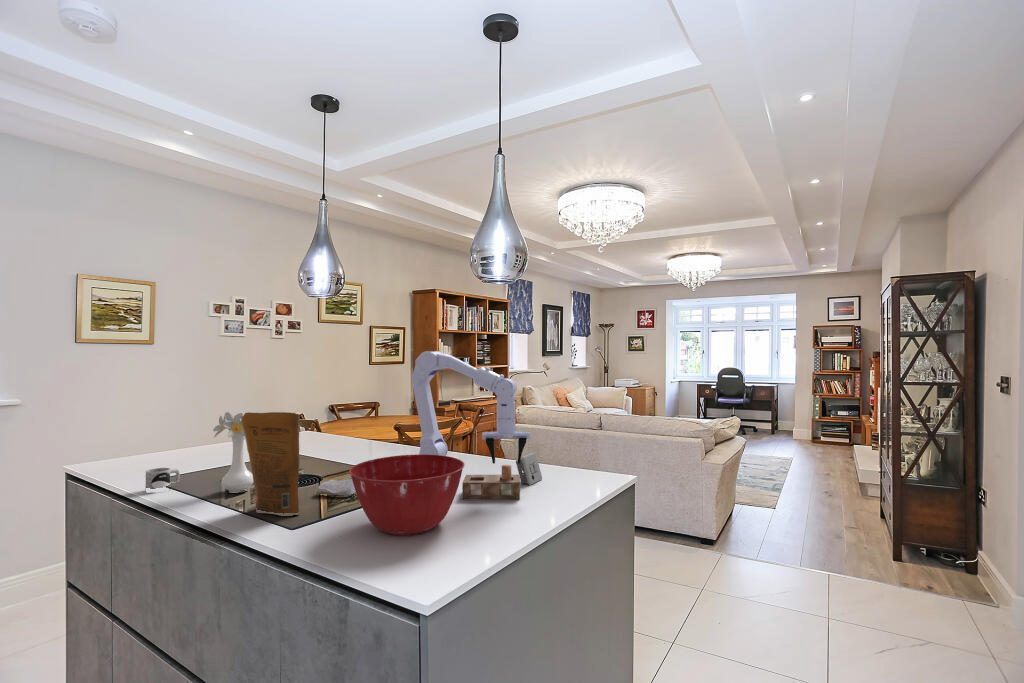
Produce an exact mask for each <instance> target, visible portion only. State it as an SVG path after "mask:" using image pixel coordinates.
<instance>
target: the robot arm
mask: <svg viewBox="0 0 1024 683" xmlns="http://www.w3.org/2000/svg"><path fill="white" fill-rule="evenodd" d="M414 365H415V366H414V370H413V372H412V376H411V384H412V389H413V390H412V391H413V394H414V401H415V404H416V410H417V414H418V420H419V425H420V430H421V437H420V440H419V446H420V447H419V452H418V455H419V454H427V455H442V456H448V451H449V447H448V444H447V443H446V442H445V440H444V436H443V434H442V433H441V432H440V430H439V426H438V420H437V414H436V410H435V406H434V400H433V395H432V391H431V390H432V388H431V384H430V382H431V381H432V379H433V378H434V376H436V374H437V373H439V372H440V371H442V370H443V369H446V370H447V369H450V370H453V371H456V373H459V374H462V375H464V376H466V377H469V378H470V379H472V380H473V383H474V384H475V385H476V386H478V387H481V388H482V389H484V390H486V391H488V392H491V393H494V394H495V395H496V431H484V432H482V434H481V435H482V438H481V440H485V444H486V446H487V448H488V450H489V454H490V455H491V456H490V457H491V462H492V464H495V463H496V452H495V449H496V448H495V447H496V445H495V444H496V443H495V441H496V440H510V439H511V440H518V441H517V442H518V443H517V447H518V448H517V449H518V451H517V453H518V454H517V455H518V456H517V460H518V463H520V460H521V459H522V455H523V454H522V453H523V451H524V448H525V446H526V445H527V440H531V432H530V431H516V395H515V394H516V392H517V389H518V387H517V383H516V382H515V381H514V380H513V379H512V378H510V377H505V374H502V373H501V374H498V373H496V372H494V371H491V369H492V368H491V367H488V366H486V367H484V366H482V367H479V368H476V367H474V366H472V365H470V364H468V363H466V362H465V361H463V360H461V359H459V358H457V357H455V356H453V355H451V354H448V353H444V352H442V351H440V350H435V351H430V350H425V351H423V352H421V353H420V354H419V355H418V357H417V358H416V359H415V364H414Z"/></svg>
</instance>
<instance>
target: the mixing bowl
mask: <svg viewBox="0 0 1024 683" xmlns="http://www.w3.org/2000/svg"><path fill="white" fill-rule="evenodd" d="M464 467H465V462H464V461H463V460H461V459H459V458H456V457H453V456H448V455H446V456H442V455H427V454H419V453H418V454H402V455H393V456H385V457H380V458H379V457H378V458H375V459H374V458H373V459H370V460H366V461H363V462H359V463H357V464H355V465H353V466H351V467H350V468H349V470H348V473H349V475H351V476H350V477H351V479H352V481H353V484H354V488H355V491H356V496H357V499H358V501H359V504H360V506H361V508H362V509H363V512H364V514H365V515H366V517H367V519H368V521H369V522H370V523H371V524H372V525H373V526H374V527H376V528H377V529H378V530H381V531H382V532H383V531H384V532H383V533H385V534H387V533H388V534H389V535H391V534H392V535H391V536H412V535H420V534H424V533H427V532H429V531H431V530H433V529H434V528H435V527H436V526H438V525H439V524H440V523H441V522H443V520H444V519H445V518H446V516H447V514H448V513H449V511H450V509H451V507H452V504H453V502H454V499H455V498H456V497H455V496H456V495H457V492H458V489H459V485H460V481H461V477H462V474H463V473H462V472H463V469H464ZM423 532H424V533H423ZM419 533H420V534H419Z"/></svg>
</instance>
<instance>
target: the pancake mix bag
mask: <svg viewBox="0 0 1024 683" xmlns="http://www.w3.org/2000/svg"><path fill="white" fill-rule="evenodd" d="M300 417H301V415H299V414H297V413H295V412H282V411H278V412H276V411H274V412H273V411H272V412H271V411H270V412H249V411H248V412H245V413H244V414H243V416H241V419H240V421H241V423H242V427H243V430H244V434H245V436H244V440H245V443H246V449H247V450H246V451H247V454H248V459H249V463H250V469H251V473H252V474H253V486H254V490H255V496H256V503H255V509H256V508H257V510H261V511H266V512H274V513H283V514H284V513H298V512H300V506H299V505H300V503H299V500H300V499H299V476H300V475H299V473H300V472H299V471H300V470H299V469H300V420H301V418H300Z"/></svg>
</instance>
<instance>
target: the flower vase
mask: <svg viewBox="0 0 1024 683" xmlns="http://www.w3.org/2000/svg"><path fill="white" fill-rule="evenodd" d="M243 415H244V414H243V413H242V412H240V413H237V414H235V415H234V416H233V415H232V414H231V413H230V412H229V411H226V412H224V416H222V415H220V416H219V417H218V425H216V426H215V427H214V428H213V430H212V431H213V433H214V432H216V433H215V434H214V436H213V437H214V438H216V437H217V436H218V435H219V434H221V433H222V432H224V430H226V429H228V432H227V437H228V438H231V442H232V457H231V458H232V460H231V465H230V468H229V470H228V472H227V473H226V474H225V475H224V476H223V477H222V479H221V486H222V488H224V489H225V490H226V491H227V490H229V491H240V490H245V489H247V488H249V489H250V487H251V486H252V485H254V482H253V474H252V471H250V470H249V469H248V468H247V465H246V463H245V456H244V441H245V434H244V430H243V427H242V423H241V416H243Z"/></svg>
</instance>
